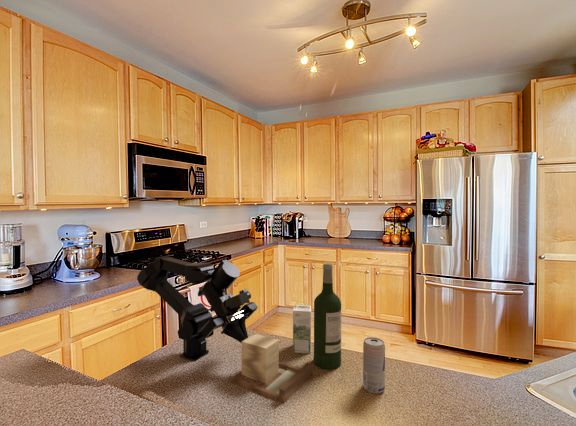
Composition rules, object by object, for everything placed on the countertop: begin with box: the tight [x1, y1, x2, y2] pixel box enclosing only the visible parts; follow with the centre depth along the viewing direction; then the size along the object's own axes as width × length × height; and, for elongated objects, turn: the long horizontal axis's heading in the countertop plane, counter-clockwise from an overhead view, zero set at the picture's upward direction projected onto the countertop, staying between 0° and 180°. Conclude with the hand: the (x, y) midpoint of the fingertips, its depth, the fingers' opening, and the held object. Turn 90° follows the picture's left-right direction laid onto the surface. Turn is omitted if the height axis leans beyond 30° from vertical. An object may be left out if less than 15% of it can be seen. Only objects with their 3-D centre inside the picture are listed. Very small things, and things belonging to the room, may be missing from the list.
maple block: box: [241, 333, 280, 384], centre depth 81 cm, size 8×6×9 cm
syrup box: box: [292, 304, 312, 354], centre depth 96 cm, size 6×6×14 cm
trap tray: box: [226, 360, 313, 404], centre depth 79 cm, size 18×14×4 cm
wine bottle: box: [313, 262, 342, 371], centre depth 87 cm, size 8×8×30 cm
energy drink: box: [362, 336, 386, 394], centre depth 77 cm, size 5×5×12 cm
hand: (247, 344), depth 83 cm, fingers closed
